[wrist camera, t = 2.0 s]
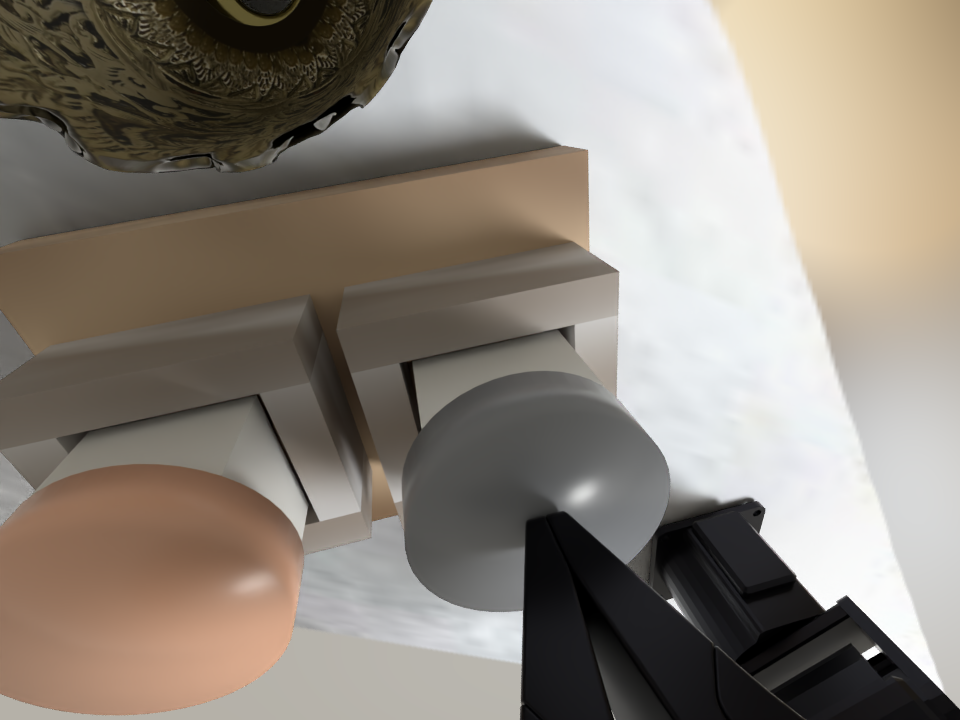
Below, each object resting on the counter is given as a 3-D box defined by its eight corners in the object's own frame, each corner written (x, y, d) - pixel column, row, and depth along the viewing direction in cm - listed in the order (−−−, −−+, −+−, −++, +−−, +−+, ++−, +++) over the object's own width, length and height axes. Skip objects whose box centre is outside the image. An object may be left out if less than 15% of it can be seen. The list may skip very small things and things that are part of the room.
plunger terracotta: (342, 515, 14) (329, 667, 10) (153, 563, 13) (64, 742, 9) (277, 361, 11) (223, 492, 7) (32, 413, 10) (-165, 583, 7)
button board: (574, 435, 20) (626, 522, 16) (209, 524, 19) (158, 648, 14) (562, 145, 14) (642, 159, 10) (21, 240, 13) (-166, 305, 8)
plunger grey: (587, 454, 15) (661, 573, 11) (419, 496, 14) (434, 637, 10) (585, 296, 12) (682, 382, 8) (374, 340, 11) (371, 456, 7)
